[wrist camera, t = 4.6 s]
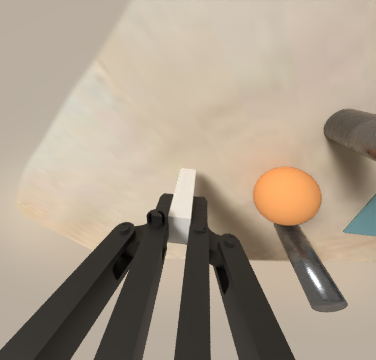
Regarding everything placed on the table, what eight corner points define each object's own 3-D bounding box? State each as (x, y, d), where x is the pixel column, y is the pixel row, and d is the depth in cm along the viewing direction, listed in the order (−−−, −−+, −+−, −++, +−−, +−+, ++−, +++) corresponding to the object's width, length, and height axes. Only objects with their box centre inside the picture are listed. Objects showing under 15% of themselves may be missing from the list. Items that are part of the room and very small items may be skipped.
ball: (332, 200, 11) (253, 169, 14) (296, 249, 14) (237, 215, 17) (338, 172, 14) (274, 152, 17) (308, 216, 17) (258, 193, 20)
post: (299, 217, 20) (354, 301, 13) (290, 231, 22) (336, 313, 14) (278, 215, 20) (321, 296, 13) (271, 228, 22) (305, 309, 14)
